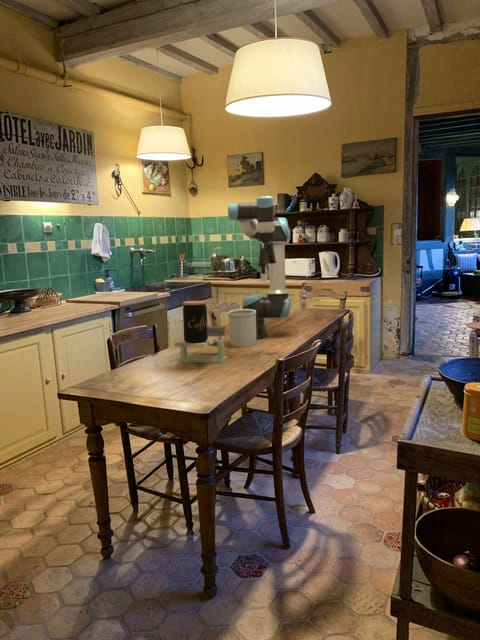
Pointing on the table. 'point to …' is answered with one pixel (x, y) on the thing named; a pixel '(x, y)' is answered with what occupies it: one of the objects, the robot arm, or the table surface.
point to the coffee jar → (195, 321)
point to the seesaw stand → (204, 358)
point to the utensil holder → (242, 327)
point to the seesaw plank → (213, 336)
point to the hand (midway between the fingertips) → (268, 279)
